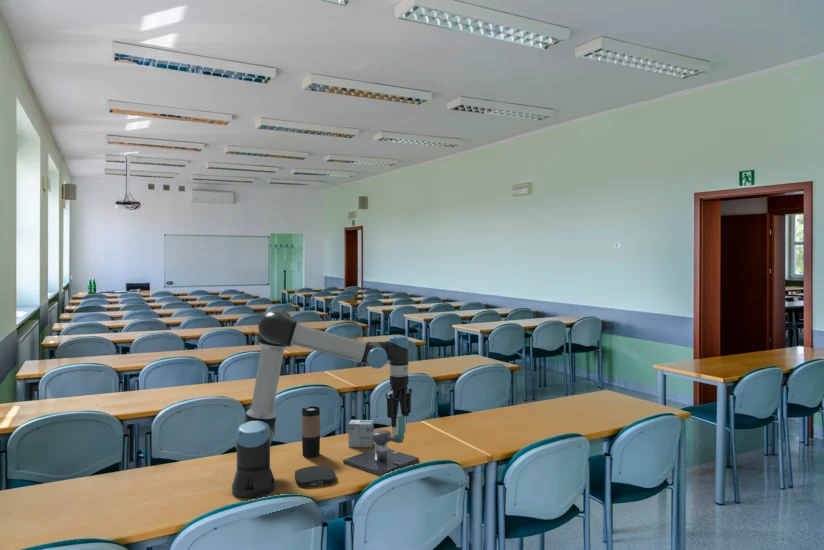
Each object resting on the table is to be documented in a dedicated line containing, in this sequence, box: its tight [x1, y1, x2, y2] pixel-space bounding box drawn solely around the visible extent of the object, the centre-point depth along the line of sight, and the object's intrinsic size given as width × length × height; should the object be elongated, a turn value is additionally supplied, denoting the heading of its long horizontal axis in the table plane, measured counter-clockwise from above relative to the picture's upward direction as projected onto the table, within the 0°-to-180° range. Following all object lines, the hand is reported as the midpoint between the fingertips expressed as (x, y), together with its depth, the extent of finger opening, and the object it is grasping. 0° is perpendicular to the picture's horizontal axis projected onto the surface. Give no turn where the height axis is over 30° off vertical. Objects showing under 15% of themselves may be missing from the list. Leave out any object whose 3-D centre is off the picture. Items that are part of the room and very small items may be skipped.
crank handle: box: [371, 414, 405, 444], centre depth 227 cm, size 8×16×12 cm, turn 50°
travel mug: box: [301, 405, 321, 459], centre depth 239 cm, size 8×8×20 cm
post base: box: [342, 442, 420, 477], centre depth 230 cm, size 22×22×9 cm
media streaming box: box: [294, 465, 337, 488], centre depth 213 cm, size 15×15×3 cm
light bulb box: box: [347, 419, 375, 449], centre depth 252 cm, size 11×7×11 cm, turn 84°
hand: (399, 433), depth 223 cm, fingers closed on crank handle, 4 cm apart
